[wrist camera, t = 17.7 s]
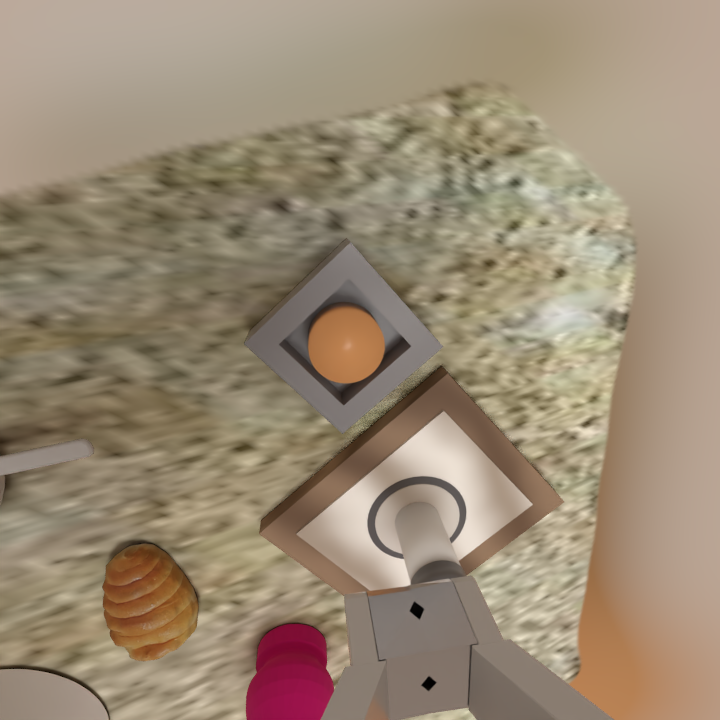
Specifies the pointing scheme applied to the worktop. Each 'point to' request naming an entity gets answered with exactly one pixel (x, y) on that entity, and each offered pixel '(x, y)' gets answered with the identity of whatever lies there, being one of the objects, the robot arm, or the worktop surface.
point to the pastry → (148, 602)
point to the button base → (291, 328)
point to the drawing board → (411, 492)
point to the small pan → (43, 458)
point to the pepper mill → (290, 676)
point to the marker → (426, 544)
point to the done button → (345, 343)
